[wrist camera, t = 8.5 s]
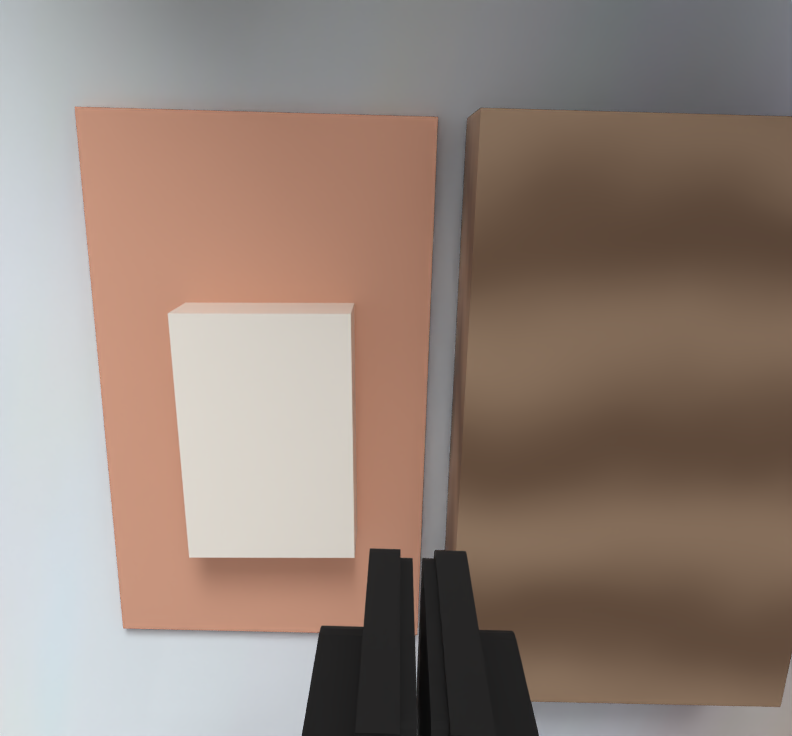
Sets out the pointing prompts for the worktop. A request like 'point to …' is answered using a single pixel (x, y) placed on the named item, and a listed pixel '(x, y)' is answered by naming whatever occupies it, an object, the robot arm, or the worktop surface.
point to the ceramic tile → (267, 428)
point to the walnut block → (628, 401)
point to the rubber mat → (257, 283)
